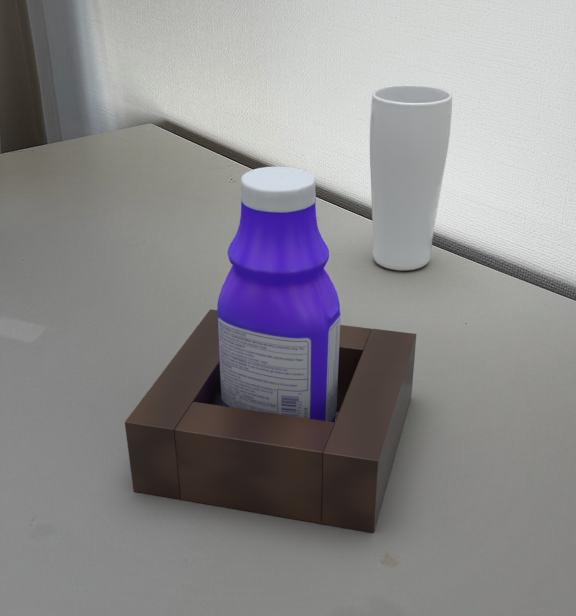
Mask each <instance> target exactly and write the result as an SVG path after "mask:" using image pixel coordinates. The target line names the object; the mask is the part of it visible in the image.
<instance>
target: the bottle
mask: <svg viewBox="0 0 576 616" xmlns="http://www.w3.org/2000/svg"><path fill="white" fill-rule="evenodd" d="M316 182H317V181H316V177H315V175H314V174H312V173H311V172H309V171H306V170H305V169H300V168H296V167H290V166H264V167H263V166H262V167H258V168H254V169H252V170H248V171H246V172H245V173H243V175H242V176H241V179H240V218H239V225H238V228H237V231H236V233H235V235H234V237H233V239H232V241H231V242H230V243H229V245H228V249H227V257H228V261H229V263H230V264H231V265H232V266H231V268H230V269H229V272H228V274H227V276H226V277H225V279H224V282H223V284H222V285H221V286H222V287H221V289H220V292H219V295H218V298H217V305H216V307H217V309H216V310H217V312H218V335H219V360H220V386H221V406H226V407H232V408H239V409H246V410H253V411H260V412H267V413H274V414H281V415H288V416H294V417H301V418H308V419H315V420H322V421H329V422H334V423H335V421H336V415H337V410H336V408H337V386H338V363H339V340H340V325H341V304H340V299H339V295H338V292H337V290H336V287H335V285H334V283H333V282H332V279H331V277H330V275H329V274H328V272H327V271H326V269H325V267H326V265H327V264H328V262H329V260H330V259H329V258H330V250H329V247H328V245H327V243H326V241H324V238H323V237H322V235H321V232H320V230H319V226H318V220H317V208H316V202H317V195H316V194H317V193H316Z"/></svg>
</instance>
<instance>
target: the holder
mask: <svg viewBox="0 0 576 616" xmlns="http://www.w3.org/2000/svg"><path fill="white" fill-rule="evenodd" d="M416 344H417V333H413V332H406V331H405V332H403V331H396V330H389V329H380V328H370V327H363V326H353V325H345V324H340V340H339V363H338V386H337V408H336V412H337V411H338V413H337V416H336V418H335V422H329V421H322V420H315V419H308V418H301V417H294V416H288V415H281V414H274V413H267V412H260V411H253V410H246V409H239V408H232V407H226V406H221V386H220V360H219V335H218V312H217V309H209V310H208V311H207V313H206V314H205V315H204V317H203V318H202V320H200V322H199V323H198V325H197V326H196V327H195V329H194V330H193V331H192V332H191V334H190V335H189V336H188V338H187V339H186V340H185V342H184V343H183V344H182V345H181V347H180V348H179V350H178V351H177V352H176V353H175V355H174V357H173V358H171V360H170V361H169V363H168V364H167V365H166V367H165V368H164V369H163V371H162V372H161V373H160V375H159V376H158V377H157V379H156V380H155V381H154V382H153V384H152V385H151V386H150V388H149V390H147V392H146V393H145V395H144V396H143V397H142V398H141V399H140V401H139V402H138V404H137V405H136V406H135V408H134V409H133V411H132V412H131V413H130V414H129V416H128V417H127V418H126V419H125V421H124V427H125V428H124V429H125V436H126V444H127V450H128V451H127V453H128V460H129V467H130V475H131V482H132V491H133V492H137V493H142V494H148V495H153V494H154V496H159V497H165V498H171V499H176V498H177V500H183V501H189V502H194V503H199V504H205V505H206V504H207V505H211V506H218V507H223V508H230V509H235V510H240V511H247V512H252V513H259V514H263V515H268V516H269V515H270V516H276V517H281V518H287V519H293V520H299V521H304V522H310V523H317V524H322V525H327V526H333V527H339V528H344V529H351V530H355V531H361V532H362V531H363V532H368V533H375V530H376V527H377V522H378V519H379V515H380V513H381V510H382V509H381V508H382V505H383V501H384V497H385V494H386V490H387V486H388V484H389V481H390V480H389V479H390V476H391V472H392V468H393V465H394V462H395V458H396V454H397V450H398V447H399V444H400V439H401V437H402V432H403V428H404V425H405V421H406V418H407V414H408V410H409V406H410V405H411V399H412V395H413V381H414V380H413V379H414V370H415V357H416V346H417V345H416Z"/></svg>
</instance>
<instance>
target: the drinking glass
mask: <svg viewBox="0 0 576 616" xmlns="http://www.w3.org/2000/svg"><path fill="white" fill-rule="evenodd" d="M452 110H453V94H452V93H451V92H450V91H448V90H446V89H444V88H440V87H437V86H431V85H422V84H397V85H395V84H394V85H387V86H382V87H379V88H377V89H375V90H373V92H372V93H371V103H370V113H369V133H368V135H369V137H368V142H369V147H368V148H369V167H370V169H369V170H370V171H369V172H370V193H371V195H370V196H371V197H370V198H371V216H372V218H371V219H372V246H371V247H372V249H371V254H372V258H373V260H374V261H375V263H376V264H377V265H379V266H381V267H383V268H386V269H388V270H394V271H404V272H405V271H414V270H418V269H420V268H424V267H425V266H426V265H427V264H428V263H429V262H430V260H431V257H432V250H433V249H432V248H433V238H434V233H435V226H436V221H437V215H438V209H439V204H440V197H441V192H442V186H443V180H444V175H445V169H446V165H447V164H446V163H447V157H448V153H449V146H450V145H449V144H450V137H451V127H452V114H453V113H452Z"/></svg>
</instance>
